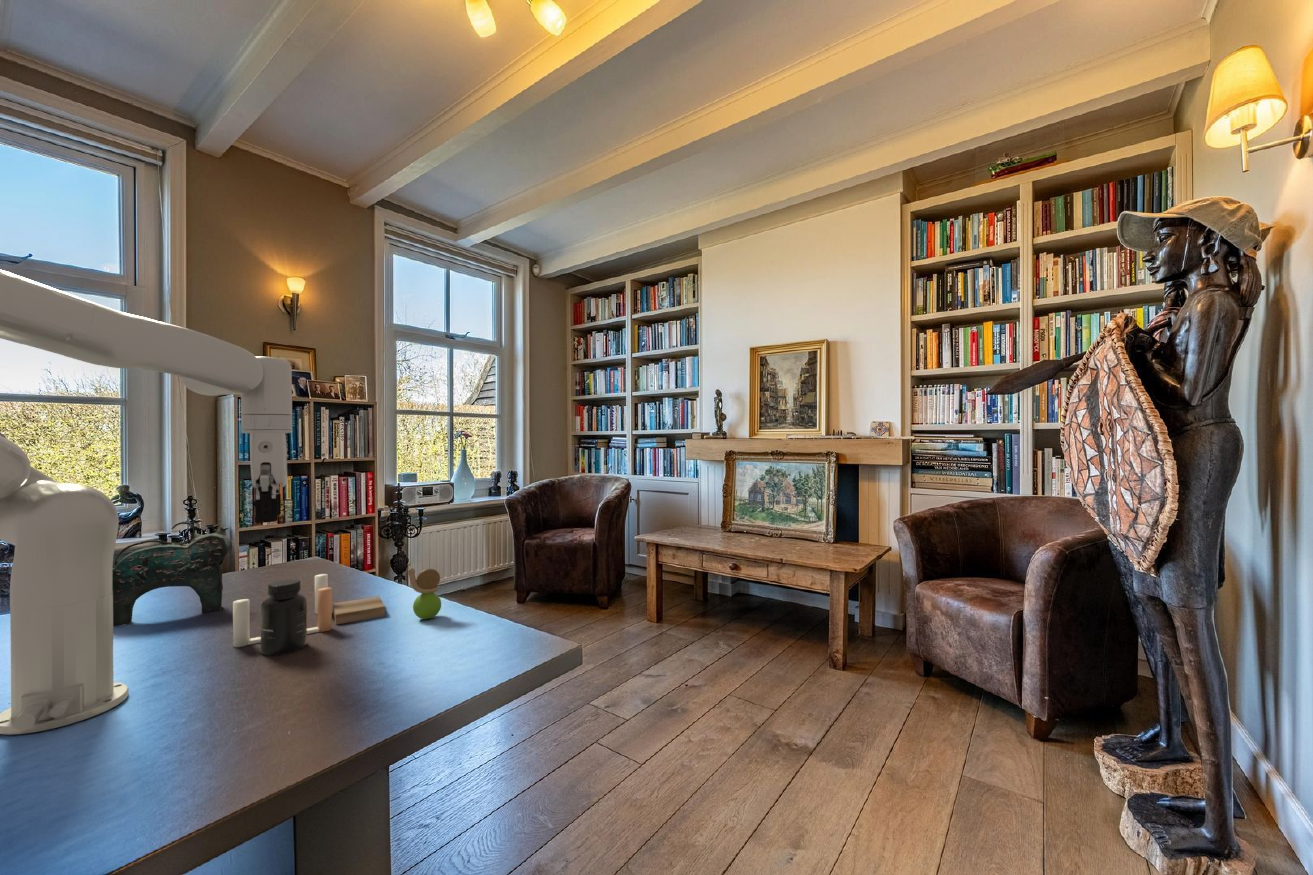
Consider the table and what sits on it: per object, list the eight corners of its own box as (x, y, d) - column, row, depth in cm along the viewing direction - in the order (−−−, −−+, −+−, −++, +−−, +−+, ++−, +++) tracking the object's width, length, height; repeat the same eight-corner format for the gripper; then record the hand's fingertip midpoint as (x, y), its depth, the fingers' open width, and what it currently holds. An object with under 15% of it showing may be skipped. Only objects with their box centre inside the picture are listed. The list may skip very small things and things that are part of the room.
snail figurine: (407, 617, 112) (407, 560, 112) (440, 612, 115) (440, 557, 115) (407, 625, 107) (407, 565, 107) (442, 620, 110) (441, 562, 110)
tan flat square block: (385, 615, 113) (385, 606, 113) (335, 624, 108) (335, 614, 108) (379, 605, 120) (379, 596, 120) (332, 612, 115) (332, 603, 115)
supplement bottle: (253, 658, 91) (252, 588, 91) (270, 643, 98) (270, 578, 98) (299, 653, 93) (298, 585, 93) (312, 639, 100) (312, 575, 100)
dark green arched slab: (231, 603, 122) (230, 516, 122) (230, 611, 117) (229, 520, 117) (109, 622, 110) (108, 526, 110) (101, 631, 105) (100, 530, 105)
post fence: (332, 629, 105) (332, 589, 105) (232, 648, 96) (232, 603, 96) (327, 609, 117) (327, 573, 117) (239, 623, 109) (238, 584, 109)
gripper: (290, 424, 92) (291, 522, 92) (293, 426, 106) (294, 511, 107) (235, 424, 88) (236, 527, 88) (246, 426, 102) (247, 514, 102)
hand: (268, 518), depth 97 cm, fingers open, 9 cm apart
